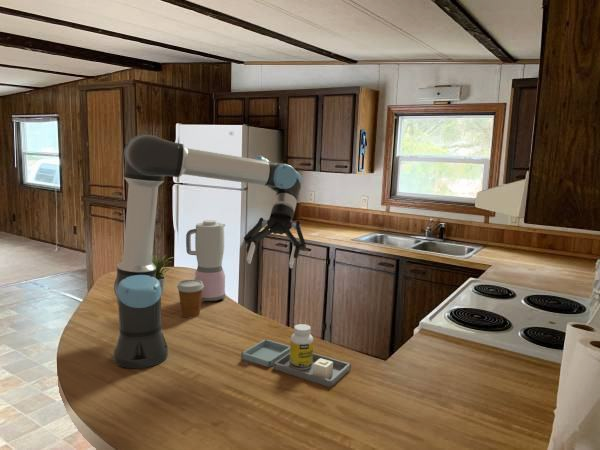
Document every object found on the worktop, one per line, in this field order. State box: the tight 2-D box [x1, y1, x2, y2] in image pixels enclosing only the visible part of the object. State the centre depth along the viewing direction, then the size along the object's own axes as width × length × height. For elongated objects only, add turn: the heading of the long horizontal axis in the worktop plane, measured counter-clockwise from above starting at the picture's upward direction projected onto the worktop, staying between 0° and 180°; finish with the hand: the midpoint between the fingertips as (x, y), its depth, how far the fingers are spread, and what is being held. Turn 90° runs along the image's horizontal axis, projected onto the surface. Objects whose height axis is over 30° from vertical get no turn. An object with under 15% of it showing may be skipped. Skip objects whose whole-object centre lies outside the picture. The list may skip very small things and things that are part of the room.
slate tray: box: [240, 338, 290, 368], centre depth 143 cm, size 12×10×2 cm
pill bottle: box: [289, 323, 314, 370], centre depth 136 cm, size 6×6×12 cm
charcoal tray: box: [273, 352, 352, 388], centre depth 135 cm, size 12×18×2 cm
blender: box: [185, 219, 226, 304], centre depth 190 cm, size 16×12×32 cm
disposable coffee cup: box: [176, 279, 204, 318], centre depth 175 cm, size 10×10×12 cm
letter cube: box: [313, 358, 333, 379], centre depth 131 cm, size 4×4×4 cm
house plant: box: [152, 253, 175, 294], centre depth 198 cm, size 14×14×16 cm
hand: (269, 263), depth 148 cm, fingers open, 13 cm apart
